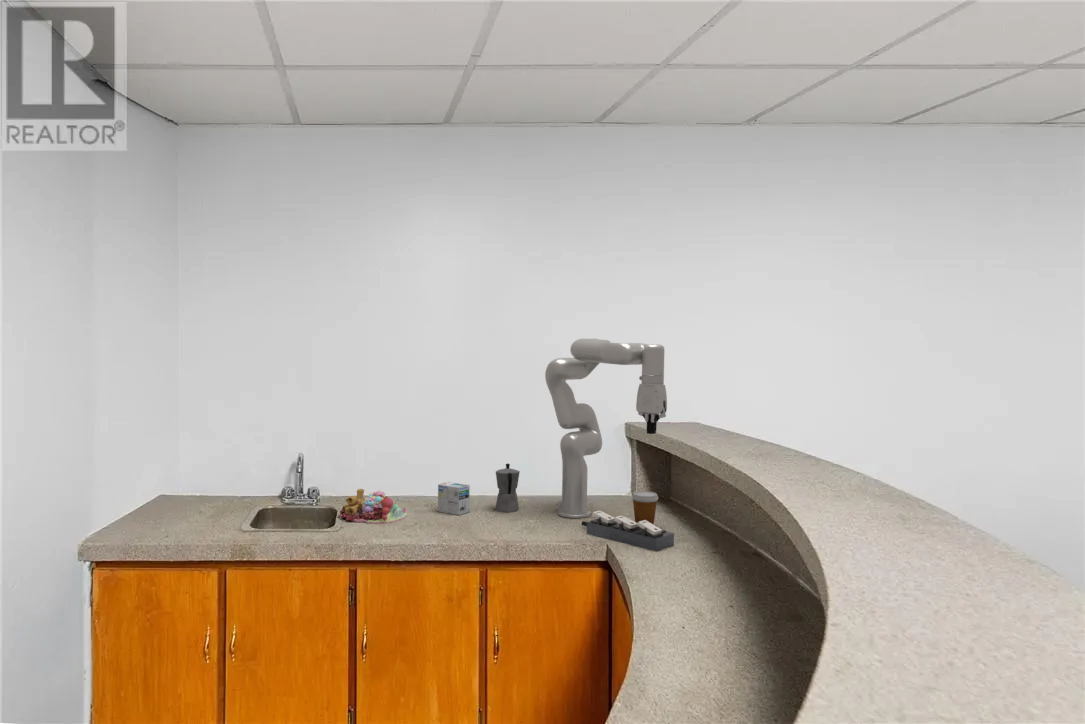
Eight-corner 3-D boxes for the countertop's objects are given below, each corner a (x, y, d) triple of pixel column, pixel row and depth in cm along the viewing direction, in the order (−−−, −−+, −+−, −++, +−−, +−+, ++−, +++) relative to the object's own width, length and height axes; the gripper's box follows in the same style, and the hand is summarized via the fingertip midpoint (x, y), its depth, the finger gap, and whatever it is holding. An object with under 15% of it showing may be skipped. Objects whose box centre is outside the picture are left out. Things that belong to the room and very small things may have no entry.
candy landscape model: (328, 522, 271) (328, 497, 270) (353, 507, 294) (353, 483, 294) (396, 525, 268) (396, 500, 267) (415, 510, 291) (415, 486, 291)
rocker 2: (613, 520, 254) (614, 517, 253) (621, 518, 257) (622, 515, 257) (629, 529, 249) (630, 525, 249) (637, 526, 252) (638, 523, 252)
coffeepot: (493, 505, 299) (494, 460, 298) (517, 505, 301) (517, 460, 300) (497, 515, 284) (498, 467, 283) (522, 514, 285) (522, 467, 285)
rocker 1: (591, 515, 260) (592, 512, 260) (599, 513, 263) (600, 510, 263) (607, 523, 256) (608, 520, 255) (615, 521, 259) (616, 517, 259)
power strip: (573, 530, 265) (573, 513, 265) (591, 525, 272) (592, 508, 272) (656, 551, 241) (656, 532, 241) (673, 545, 248) (674, 527, 248)
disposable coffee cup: (656, 531, 265) (657, 497, 265) (629, 529, 267) (630, 495, 267) (658, 524, 275) (659, 491, 274) (632, 522, 277) (632, 490, 276)
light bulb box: (470, 512, 288) (470, 484, 288) (458, 515, 282) (459, 487, 282) (448, 508, 294) (448, 480, 293) (437, 511, 288) (437, 483, 288)
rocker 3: (636, 525, 247) (637, 521, 247) (644, 523, 250) (645, 519, 250) (653, 535, 243) (654, 531, 242) (661, 533, 246) (662, 529, 246)
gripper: (628, 379, 261) (627, 432, 262) (664, 382, 251) (663, 436, 252) (641, 378, 267) (640, 430, 268) (677, 381, 256) (675, 434, 257)
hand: (651, 433), depth 260 cm, fingers closed
